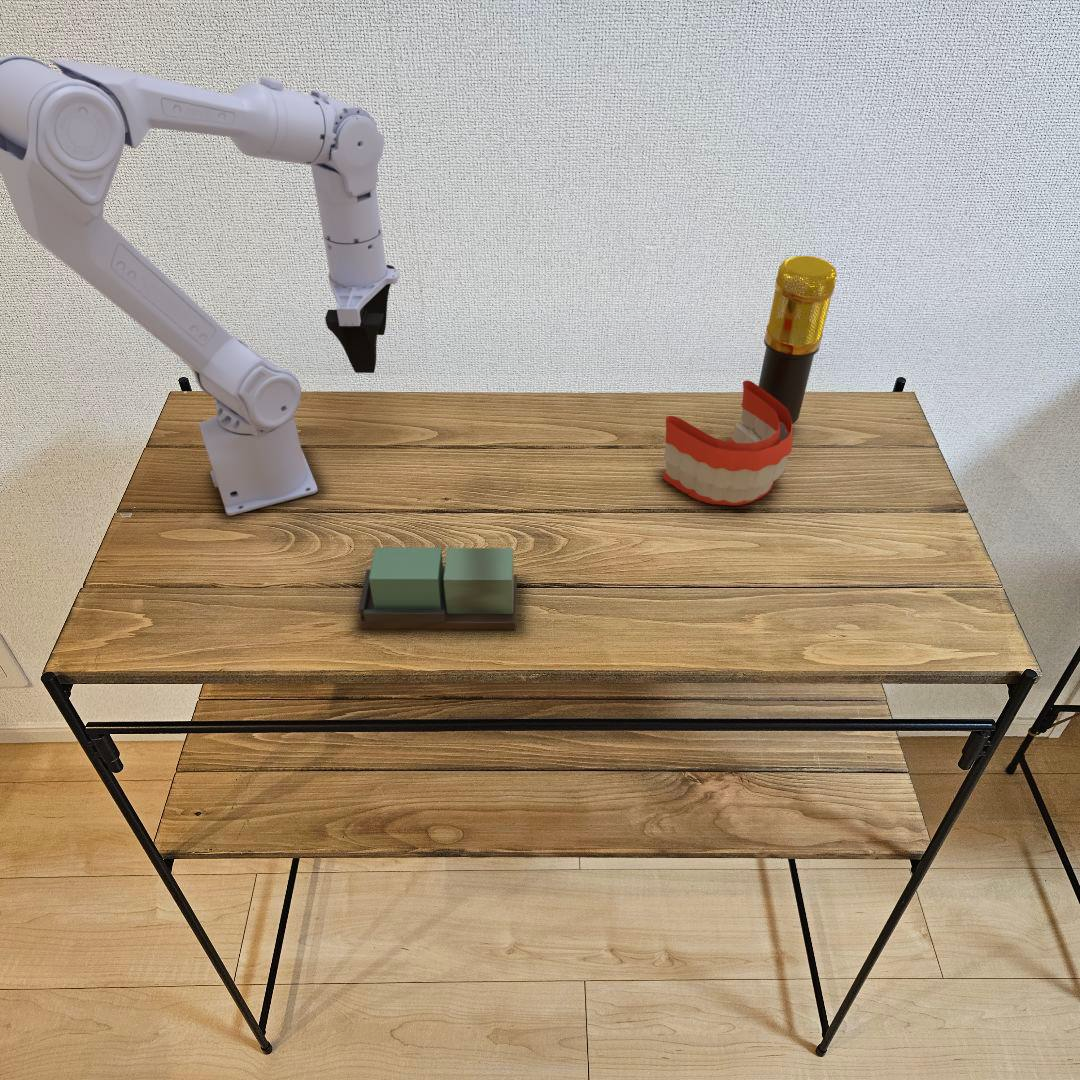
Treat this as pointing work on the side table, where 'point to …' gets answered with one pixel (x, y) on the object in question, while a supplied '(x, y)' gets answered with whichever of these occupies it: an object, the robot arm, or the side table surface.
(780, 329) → the black gold cylinder
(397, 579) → the block
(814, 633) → the side table surface
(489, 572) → the dark brown tray
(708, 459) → the toy
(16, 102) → the robot arm
